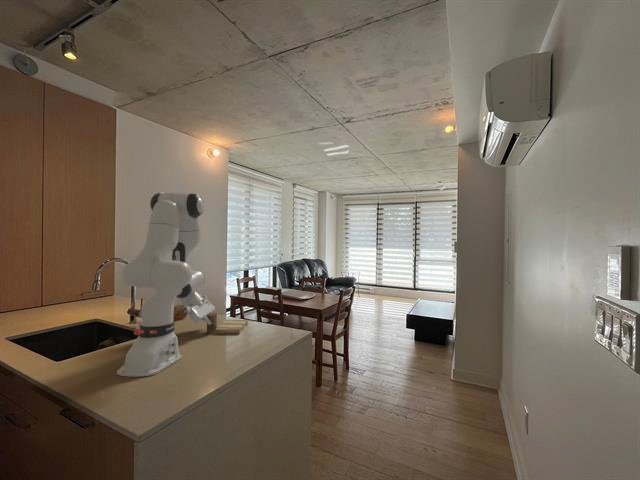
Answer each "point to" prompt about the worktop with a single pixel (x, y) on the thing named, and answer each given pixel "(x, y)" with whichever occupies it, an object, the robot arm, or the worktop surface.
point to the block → (213, 325)
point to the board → (231, 327)
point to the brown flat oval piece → (179, 312)
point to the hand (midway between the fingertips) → (213, 322)
